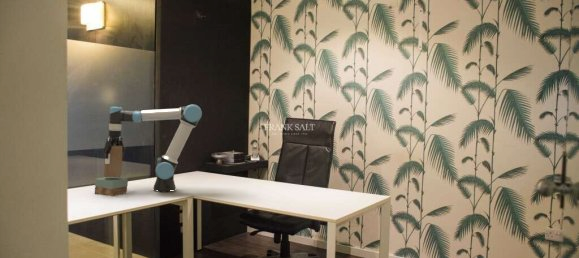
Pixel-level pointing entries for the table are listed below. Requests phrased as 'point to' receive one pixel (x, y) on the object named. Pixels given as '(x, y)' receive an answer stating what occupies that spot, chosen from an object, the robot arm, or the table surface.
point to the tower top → (111, 182)
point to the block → (114, 162)
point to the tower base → (110, 191)
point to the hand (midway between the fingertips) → (113, 162)
